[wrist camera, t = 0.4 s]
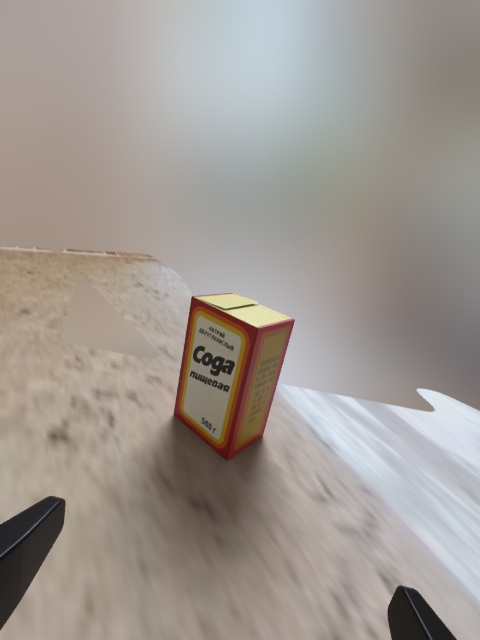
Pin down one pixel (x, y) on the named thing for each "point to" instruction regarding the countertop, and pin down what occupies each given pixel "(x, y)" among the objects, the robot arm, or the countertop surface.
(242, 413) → the baking soda box
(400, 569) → the countertop surface
